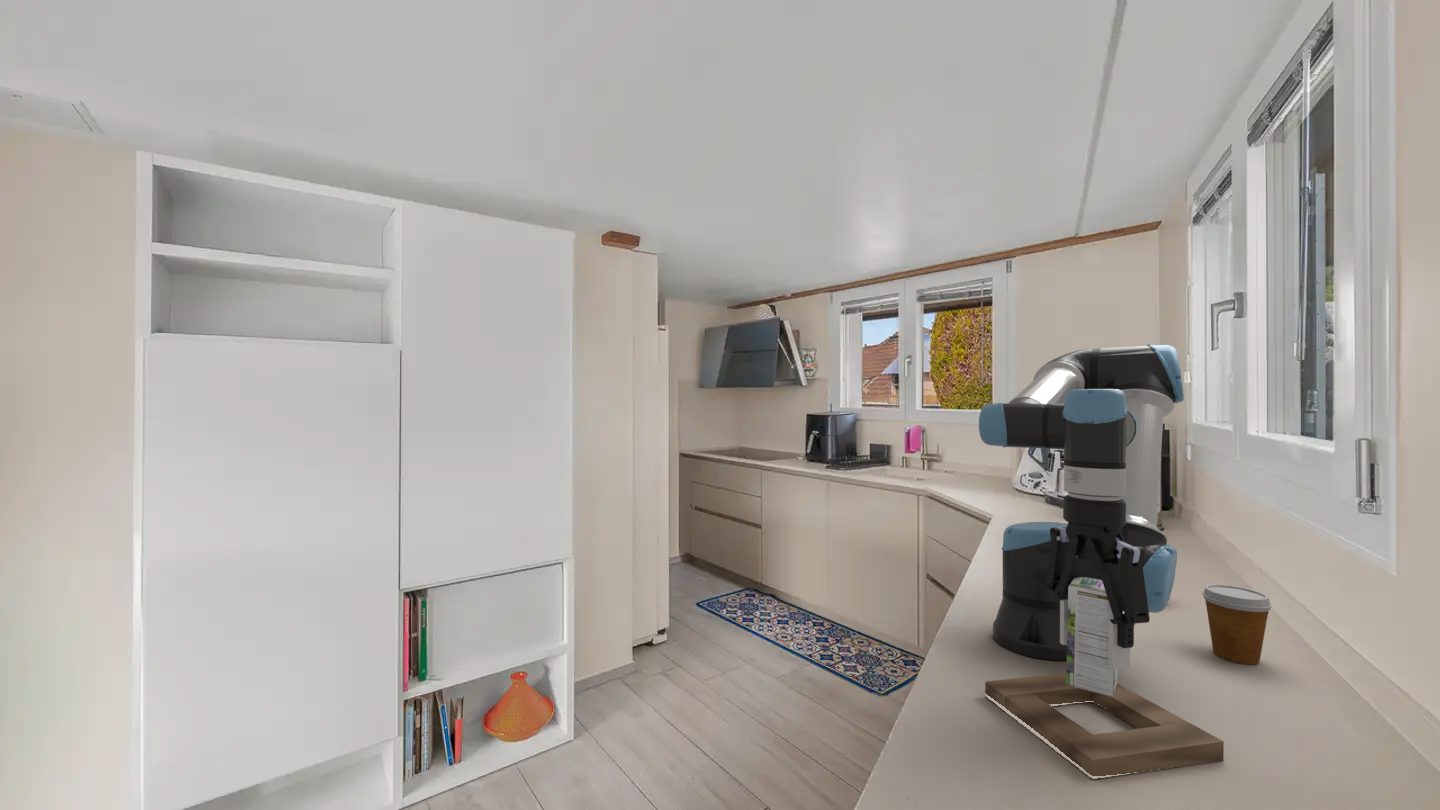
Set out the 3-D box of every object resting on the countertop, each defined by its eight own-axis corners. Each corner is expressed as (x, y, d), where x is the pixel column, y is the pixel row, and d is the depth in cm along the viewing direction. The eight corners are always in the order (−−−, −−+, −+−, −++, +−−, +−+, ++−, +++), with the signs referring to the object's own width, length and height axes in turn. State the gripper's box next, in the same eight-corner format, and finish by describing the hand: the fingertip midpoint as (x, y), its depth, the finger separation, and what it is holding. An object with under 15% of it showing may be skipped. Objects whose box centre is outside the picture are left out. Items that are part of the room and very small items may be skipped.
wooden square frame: (985, 697, 89) (985, 681, 89) (1092, 685, 93) (1092, 670, 93) (1092, 780, 69) (1092, 759, 69) (1223, 760, 73) (1223, 741, 73)
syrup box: (1071, 671, 85) (1072, 574, 85) (1119, 683, 81) (1119, 582, 81) (1065, 685, 80) (1065, 583, 81) (1116, 699, 77) (1116, 592, 77)
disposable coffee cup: (1286, 671, 98) (1286, 602, 98) (1223, 666, 100) (1223, 598, 100) (1247, 648, 107) (1247, 585, 107) (1190, 644, 109) (1190, 582, 109)
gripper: (1019, 486, 90) (1018, 629, 90) (1138, 509, 70) (1137, 693, 70) (1059, 485, 92) (1059, 626, 92) (1187, 508, 72) (1186, 688, 71)
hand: (1093, 655), depth 81 cm, fingers closed on syrup box, 8 cm apart
